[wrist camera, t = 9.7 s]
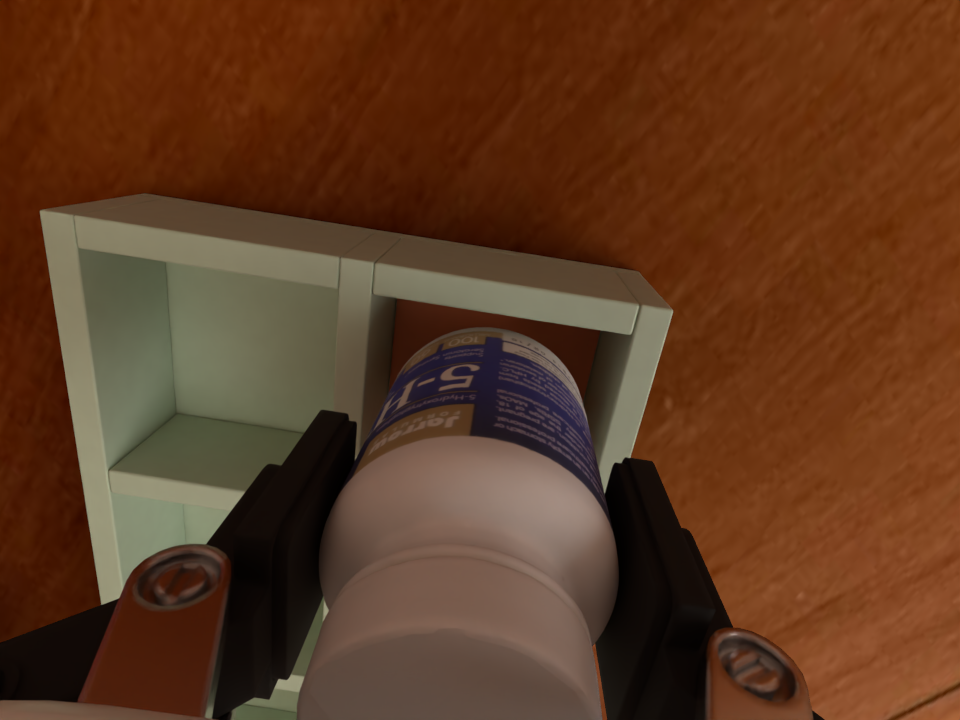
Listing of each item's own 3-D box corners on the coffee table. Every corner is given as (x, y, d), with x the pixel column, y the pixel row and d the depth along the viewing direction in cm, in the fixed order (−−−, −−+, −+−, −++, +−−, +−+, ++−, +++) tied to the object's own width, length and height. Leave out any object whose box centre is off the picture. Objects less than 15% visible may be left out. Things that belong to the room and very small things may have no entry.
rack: (638, 271, 17) (674, 309, 13) (514, 746, 25) (515, 853, 21) (144, 193, 17) (38, 209, 13) (187, 695, 25) (130, 793, 21)
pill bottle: (466, 282, 14) (397, 495, 6) (622, 400, 15) (756, 731, 7) (353, 426, 16) (175, 750, 7) (499, 524, 17) (485, 906, 8)
